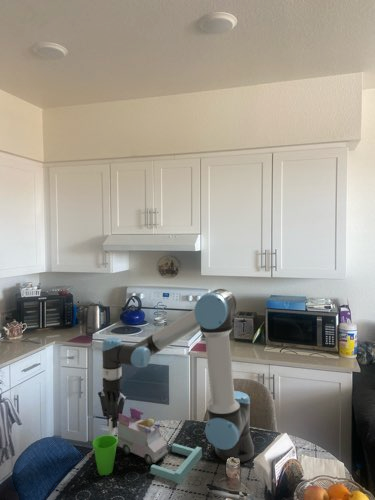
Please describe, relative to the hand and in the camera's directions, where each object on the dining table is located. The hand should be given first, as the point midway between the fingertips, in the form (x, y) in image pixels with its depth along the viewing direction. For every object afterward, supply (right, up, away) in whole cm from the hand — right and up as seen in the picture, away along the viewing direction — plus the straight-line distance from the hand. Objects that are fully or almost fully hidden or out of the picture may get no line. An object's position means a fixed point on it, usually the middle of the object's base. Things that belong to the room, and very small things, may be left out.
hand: (112, 434), depth 152 cm
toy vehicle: (+13, -5, -6) cm, 15 cm away
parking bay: (+26, -5, -13) cm, 30 cm away
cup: (+1, -5, -17) cm, 18 cm away
